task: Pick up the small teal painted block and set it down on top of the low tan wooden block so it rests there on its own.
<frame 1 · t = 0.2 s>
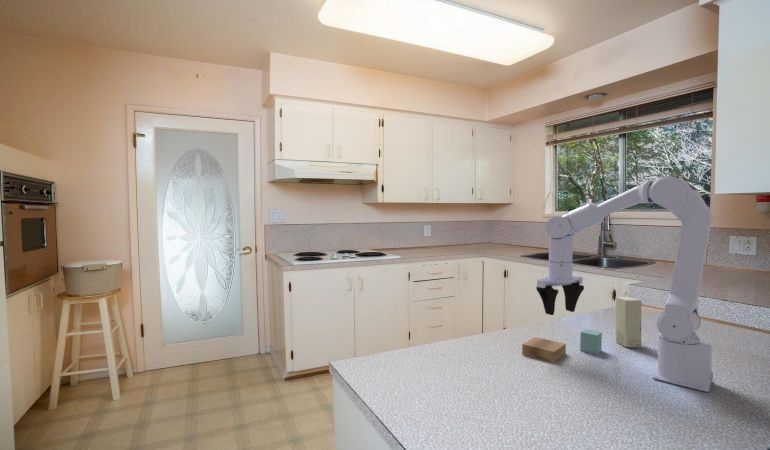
hand: (559, 312, 103), 10 cm above the countertop, fingers open, 7 cm apart
box: (627, 345, 106), on the countertop
teal block: (590, 350, 102), on the countertop
tan wooden block: (543, 355, 99), on the countertop
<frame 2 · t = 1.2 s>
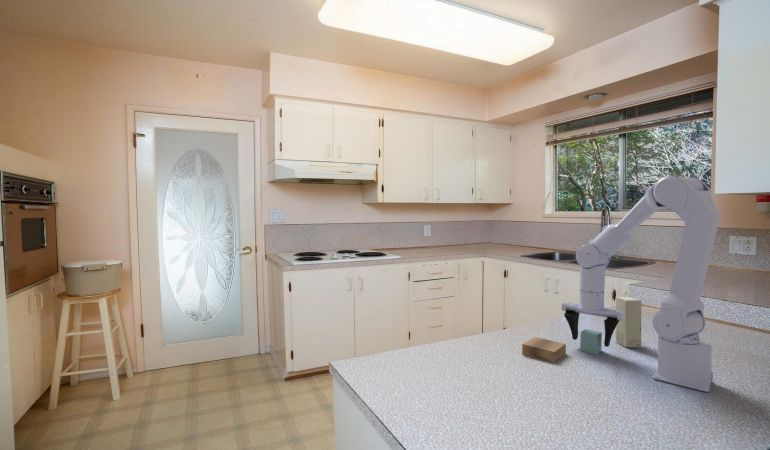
hand: (590, 342, 102), 2 cm above the countertop, fingers open, 7 cm apart
nothing on the countertop moved.
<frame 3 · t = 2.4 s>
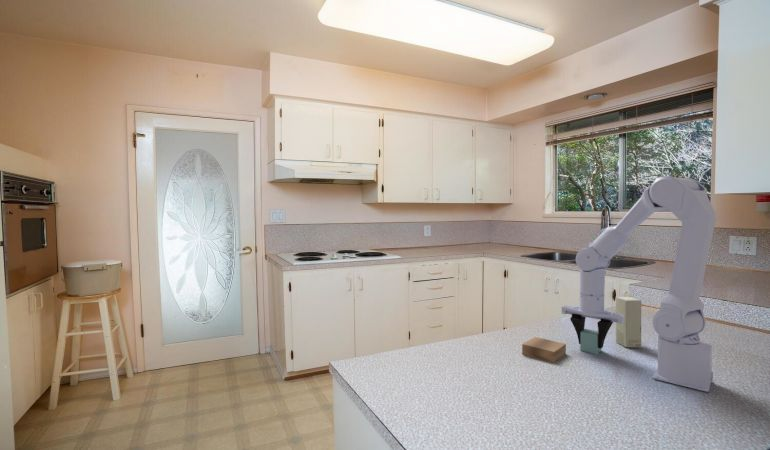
hand: (590, 345, 102), 1 cm above the countertop, fingers closed on teal block, 4 cm apart
teal block: (590, 350, 102), on the countertop, touching gripper
everything else where it was.
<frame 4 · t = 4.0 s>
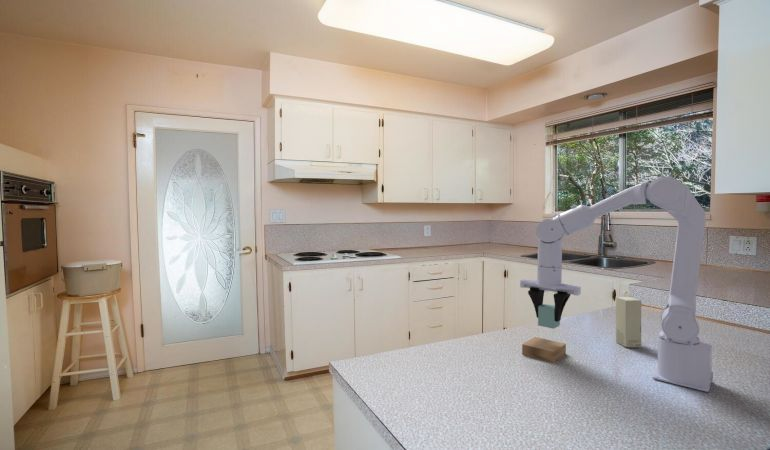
hand: (548, 318, 99), 9 cm above the countertop, fingers closed on teal block, 4 cm apart
teal block: (548, 325, 100), point 7 cm above the countertop, touching gripper
everything else where it was.
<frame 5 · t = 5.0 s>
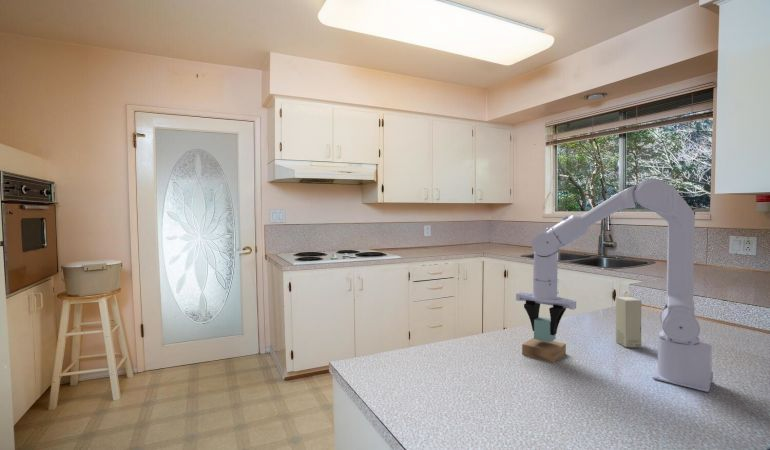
hand: (544, 332, 99), 6 cm above the countertop, fingers closed on teal block, 4 cm apart
teal block: (544, 338, 99), point 4 cm above the countertop, touching gripper
everything else where it was.
when the fingers open (6 cm above the countertop, at t = 5.5 s): teal block drops 1 cm, point 3 cm above the countertop.
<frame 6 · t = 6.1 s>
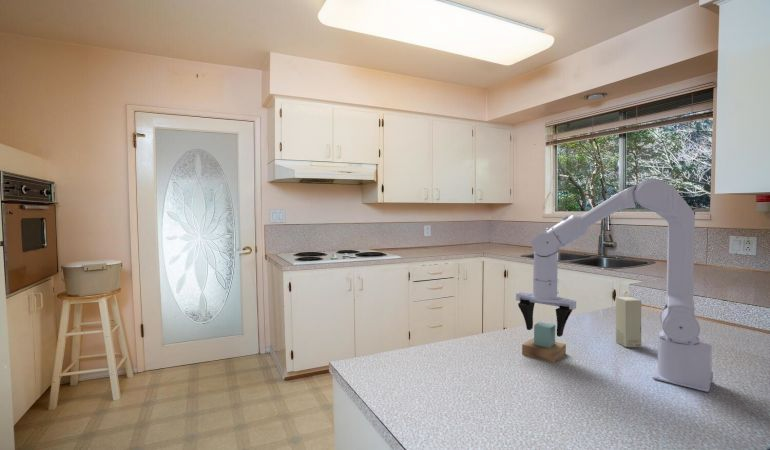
hand: (544, 332, 99), 6 cm above the countertop, fingers open, 7 cm apart
teal block: (544, 344, 99), point 3 cm above the countertop
everything else where it was.
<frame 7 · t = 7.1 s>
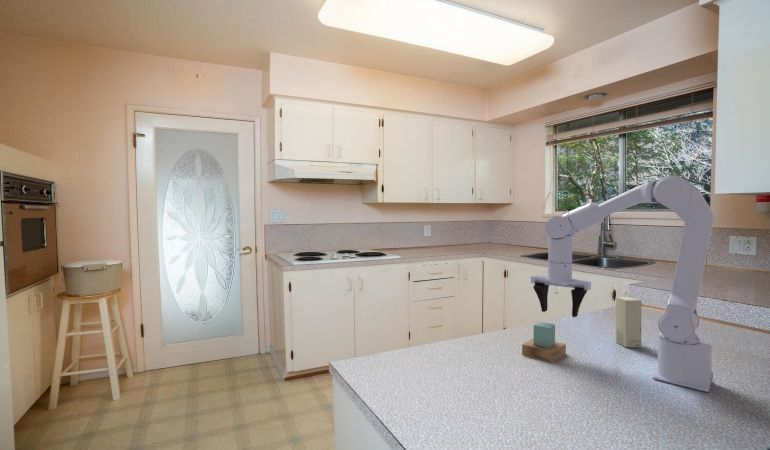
hand: (559, 313, 101), 10 cm above the countertop, fingers open, 7 cm apart
nothing on the countertop moved.
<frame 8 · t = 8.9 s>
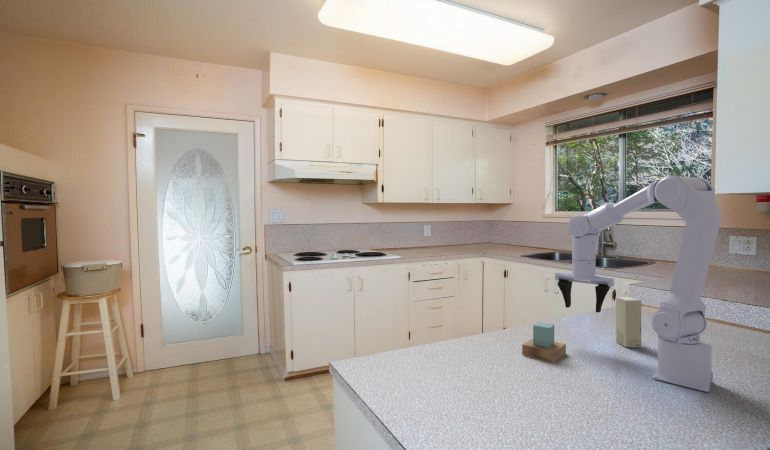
hand: (582, 309, 106), 10 cm above the countertop, fingers open, 7 cm apart
teal block: (543, 344, 99), point 3 cm above the countertop, touching tan wooden block
tan wooden block: (543, 355, 99), on the countertop, touching teal block
everything else where it was.
at the end: teal block 0.3 cm off-centre on the tan wooden block, point 3.0 cm above the tan wooden block's base; teal block tilted 0°; the gripper is holding nothing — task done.
